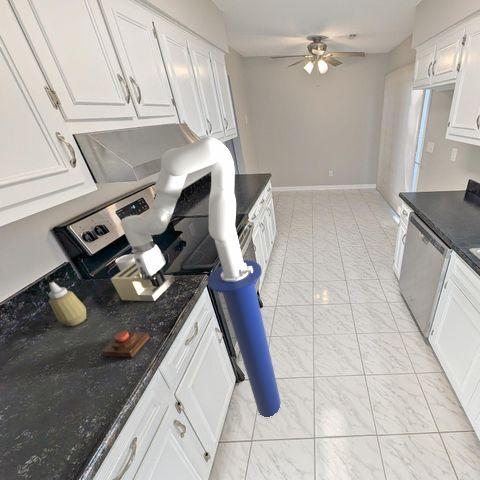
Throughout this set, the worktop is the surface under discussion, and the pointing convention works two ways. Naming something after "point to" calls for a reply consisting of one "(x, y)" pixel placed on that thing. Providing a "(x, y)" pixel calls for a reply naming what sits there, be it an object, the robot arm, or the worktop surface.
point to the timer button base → (126, 345)
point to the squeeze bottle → (66, 305)
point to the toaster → (138, 285)
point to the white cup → (125, 261)
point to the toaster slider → (159, 278)
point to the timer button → (122, 336)
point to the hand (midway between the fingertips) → (159, 283)
